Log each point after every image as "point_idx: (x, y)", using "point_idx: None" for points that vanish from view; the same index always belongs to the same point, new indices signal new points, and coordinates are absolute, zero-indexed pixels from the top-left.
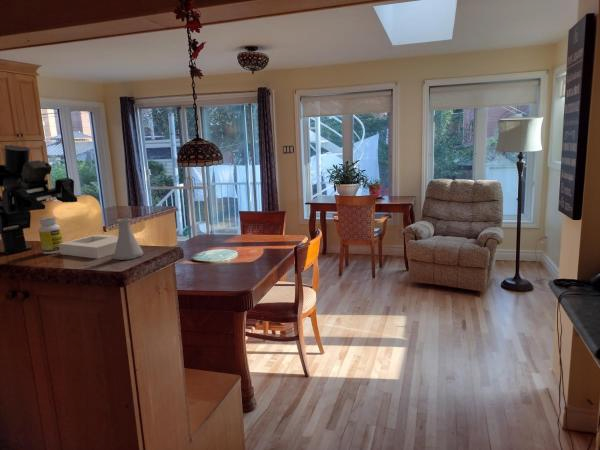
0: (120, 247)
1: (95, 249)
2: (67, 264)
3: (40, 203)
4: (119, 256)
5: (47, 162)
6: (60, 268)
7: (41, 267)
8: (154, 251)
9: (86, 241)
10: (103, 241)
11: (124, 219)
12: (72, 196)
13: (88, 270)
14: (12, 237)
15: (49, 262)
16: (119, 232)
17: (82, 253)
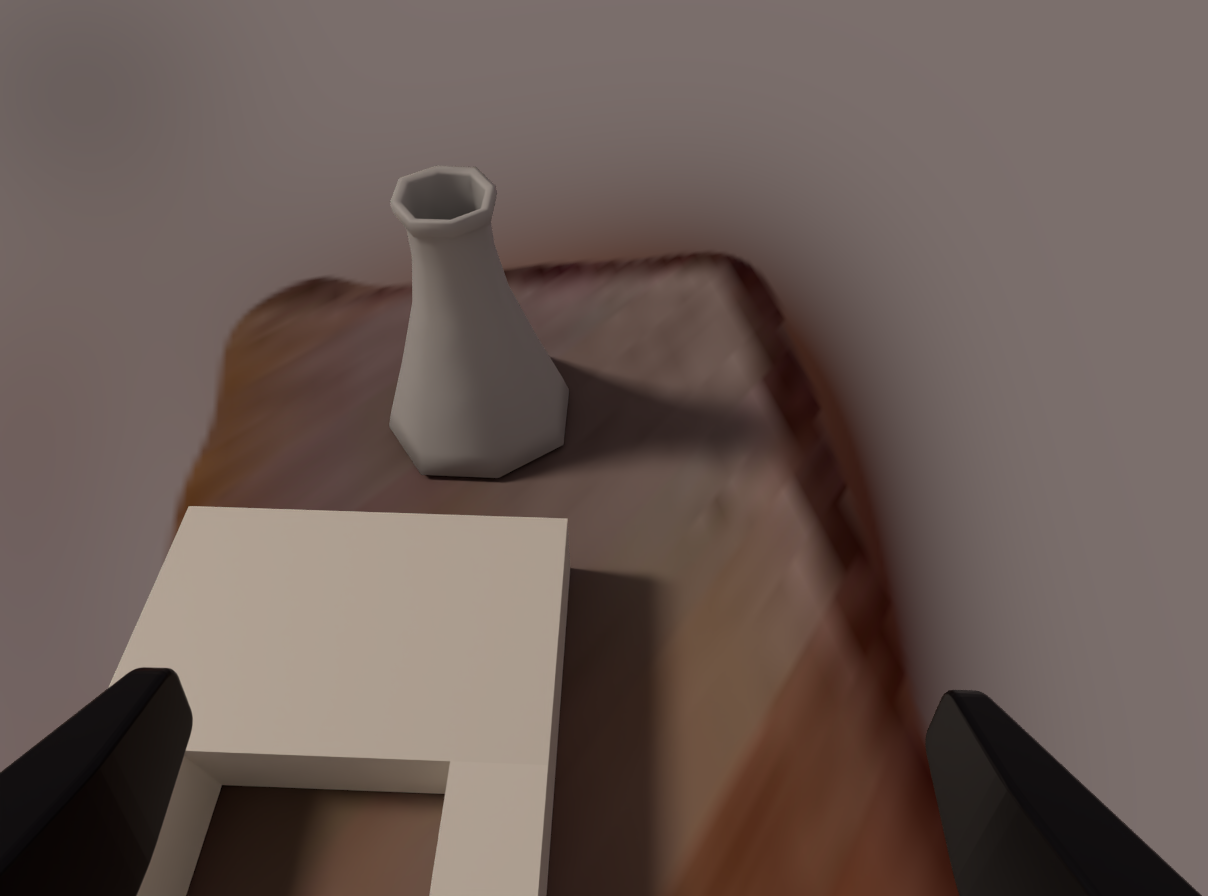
0: (539, 347)
1: (567, 540)
2: (764, 668)
3: (1040, 754)
4: (560, 387)
5: None
6: (851, 620)
7: (925, 823)
8: (339, 361)
9: None
10: (358, 646)
11: (409, 213)
12: (100, 774)
13: (784, 412)
14: None
15: None
16: (499, 284)
17: (556, 740)
